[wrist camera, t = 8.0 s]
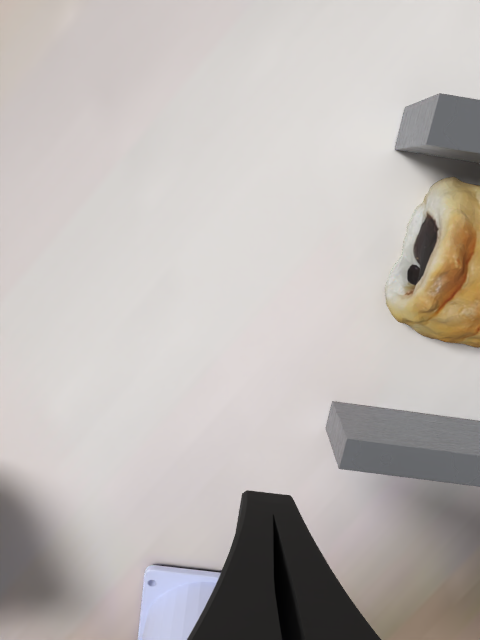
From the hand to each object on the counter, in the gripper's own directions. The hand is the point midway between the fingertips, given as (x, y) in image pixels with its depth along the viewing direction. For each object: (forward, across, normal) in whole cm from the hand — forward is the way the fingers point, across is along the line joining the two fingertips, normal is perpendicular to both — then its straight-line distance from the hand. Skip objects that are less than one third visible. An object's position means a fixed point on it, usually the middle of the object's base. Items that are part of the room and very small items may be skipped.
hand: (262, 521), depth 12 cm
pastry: (+10, -9, -7) cm, 15 cm away
